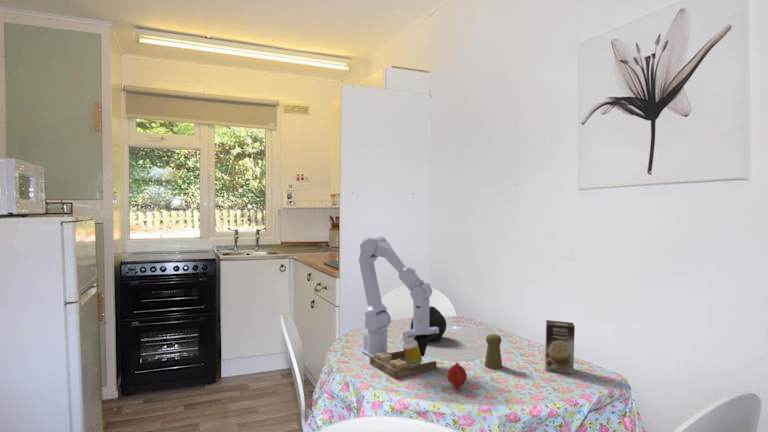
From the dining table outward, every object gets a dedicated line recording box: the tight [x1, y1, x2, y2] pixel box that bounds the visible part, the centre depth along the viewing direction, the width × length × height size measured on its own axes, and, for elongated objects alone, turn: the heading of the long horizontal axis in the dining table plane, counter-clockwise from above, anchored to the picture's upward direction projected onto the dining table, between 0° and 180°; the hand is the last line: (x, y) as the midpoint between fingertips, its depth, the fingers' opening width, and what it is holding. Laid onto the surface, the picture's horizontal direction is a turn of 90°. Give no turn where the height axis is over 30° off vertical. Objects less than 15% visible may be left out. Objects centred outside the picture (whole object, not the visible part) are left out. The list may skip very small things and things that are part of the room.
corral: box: [369, 349, 437, 380], centre depth 154 cm, size 16×17×2 cm
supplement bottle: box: [402, 335, 423, 367], centre depth 155 cm, size 5×5×10 cm
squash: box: [410, 305, 447, 342], centre depth 187 cm, size 14×15×15 cm
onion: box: [446, 362, 468, 389], centre depth 135 cm, size 6×6×8 cm
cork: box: [484, 333, 503, 370], centre depth 155 cm, size 6×6×11 cm
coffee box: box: [544, 319, 576, 375], centre depth 152 cm, size 9×6×16 cm
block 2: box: [390, 359, 408, 370], centre depth 147 cm, size 4×4×4 cm
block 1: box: [376, 352, 392, 366], centre depth 155 cm, size 4×4×4 cm
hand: (421, 355), depth 158 cm, fingers closed
